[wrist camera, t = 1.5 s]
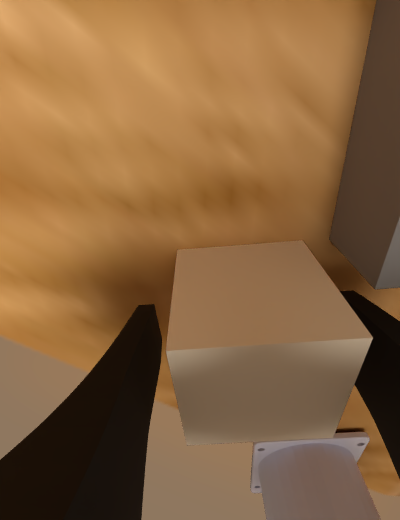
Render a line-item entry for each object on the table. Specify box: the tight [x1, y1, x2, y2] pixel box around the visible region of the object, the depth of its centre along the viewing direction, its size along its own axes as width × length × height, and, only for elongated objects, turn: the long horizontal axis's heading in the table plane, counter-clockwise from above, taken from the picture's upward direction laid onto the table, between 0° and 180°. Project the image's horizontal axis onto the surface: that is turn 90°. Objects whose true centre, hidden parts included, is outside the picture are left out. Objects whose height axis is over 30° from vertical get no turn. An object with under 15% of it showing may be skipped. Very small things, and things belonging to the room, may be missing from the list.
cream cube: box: [166, 240, 373, 445], centre depth 10 cm, size 5×5×5 cm
